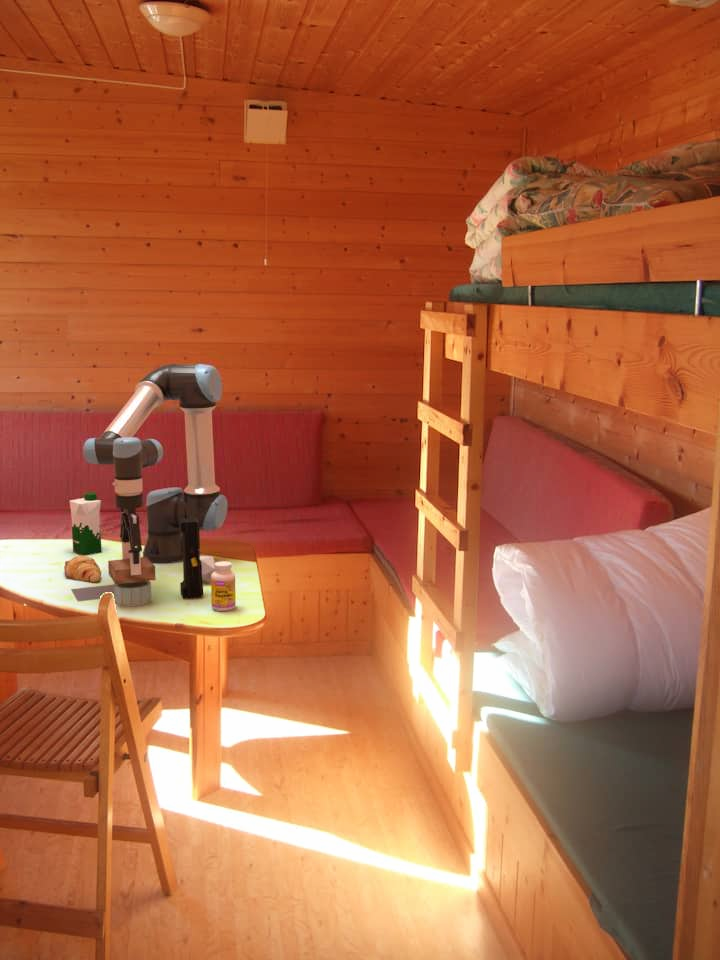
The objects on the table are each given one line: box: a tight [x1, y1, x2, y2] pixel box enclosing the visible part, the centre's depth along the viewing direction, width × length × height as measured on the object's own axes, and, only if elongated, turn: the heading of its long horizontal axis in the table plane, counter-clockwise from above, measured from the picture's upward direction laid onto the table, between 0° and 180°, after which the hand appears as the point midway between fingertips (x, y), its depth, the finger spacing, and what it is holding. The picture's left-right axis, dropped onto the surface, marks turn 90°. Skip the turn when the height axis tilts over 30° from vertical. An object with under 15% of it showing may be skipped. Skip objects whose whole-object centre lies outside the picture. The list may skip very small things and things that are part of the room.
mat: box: [71, 584, 114, 602], centre depth 286 cm, size 13×13×1 cm
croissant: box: [63, 554, 102, 583], centre depth 303 cm, size 21×10×8 cm, turn 42°
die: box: [200, 555, 217, 584], centre depth 298 cm, size 8×9×10 cm
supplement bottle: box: [210, 561, 236, 612], centre depth 272 cm, size 7×7×13 cm
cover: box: [107, 556, 156, 584], centre depth 277 cm, size 11×11×4 cm
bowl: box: [113, 581, 152, 607], centre depth 278 cm, size 10×10×5 cm
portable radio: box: [179, 509, 205, 599], centre depth 282 cm, size 8×6×25 cm
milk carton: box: [69, 492, 103, 556], centre depth 332 cm, size 9×9×20 cm
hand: (131, 569), depth 277 cm, fingers closed on cover, 11 cm apart
